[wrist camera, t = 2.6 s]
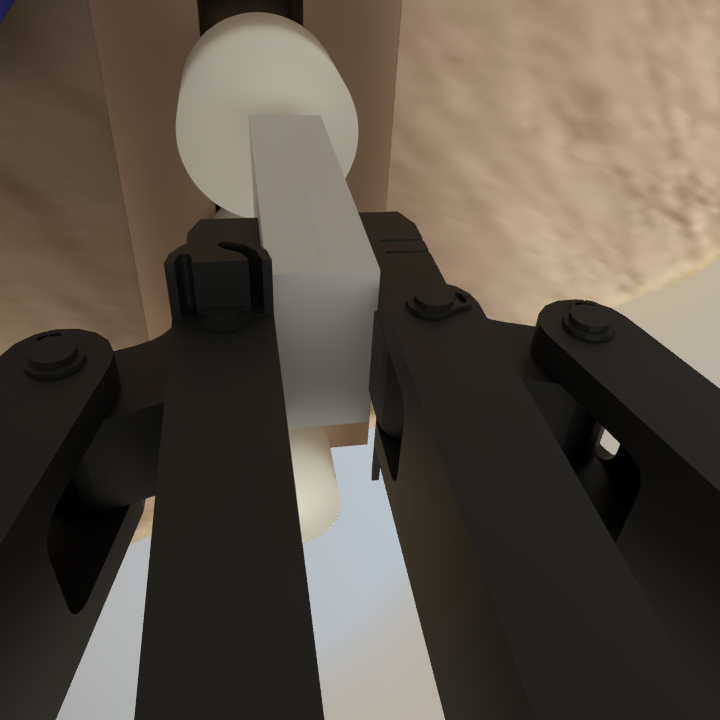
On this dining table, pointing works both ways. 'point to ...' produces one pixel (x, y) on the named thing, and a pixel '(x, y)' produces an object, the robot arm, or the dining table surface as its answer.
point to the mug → (5, 7)
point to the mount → (159, 109)
